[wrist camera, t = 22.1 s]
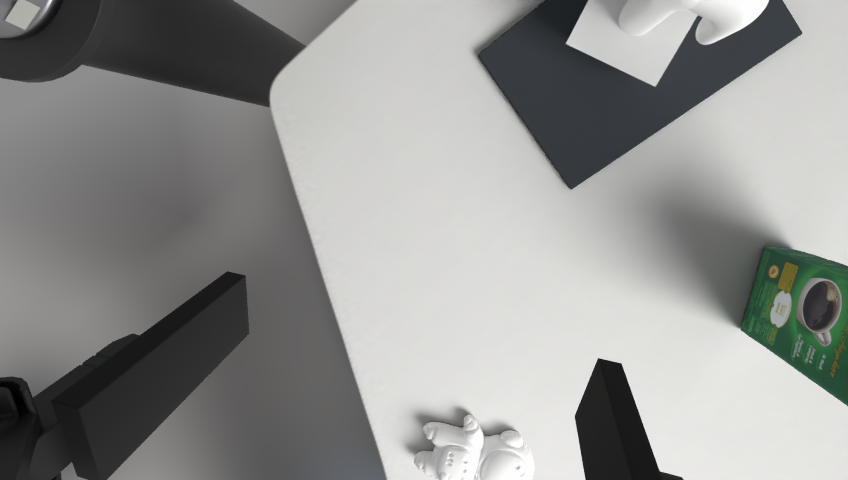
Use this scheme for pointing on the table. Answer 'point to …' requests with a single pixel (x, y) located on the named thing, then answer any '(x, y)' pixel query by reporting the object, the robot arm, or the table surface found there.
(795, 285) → the coffee box
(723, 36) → the figurine
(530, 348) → the table surface
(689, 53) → the mat
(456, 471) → the white lumpy flat piece
